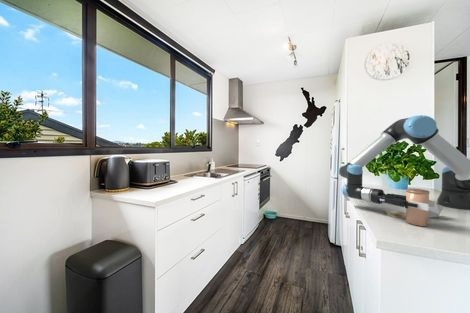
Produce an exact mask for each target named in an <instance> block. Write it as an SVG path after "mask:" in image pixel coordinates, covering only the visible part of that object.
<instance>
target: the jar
mask: <svg viewBox="0 0 470 313" xmlns="http://www.w3.org/2000/svg"><path fill="white" fill-rule="evenodd" d="M405 192H406V194H405V196H406V201H408V202H409V201H413V202H419V203H425V204H429V200H430V190H427V189H421V188H406V189H405ZM405 213H406V219H405V222H406V223H407V224H411V225H414V226H420V227H427V226H429V218H428V211H426V210H421V209H416V208H411V207H409V206H408V208H405Z"/></svg>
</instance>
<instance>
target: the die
mask: <svg viewBox="0 0 470 313" xmlns="http://www.w3.org/2000/svg"><path fill="white" fill-rule="evenodd" d="M442 211H443V208H442V207H441V205H440V204H438V203H437V202H435V207H429V211H428V219H437V218H439V216H440V215H441V214H442Z"/></svg>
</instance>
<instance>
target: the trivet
mask: <svg viewBox="0 0 470 313" xmlns="http://www.w3.org/2000/svg"><path fill="white" fill-rule="evenodd" d="M385 213H386V215H387V216H389V217H392V218H396V219H401V220H402V219H403V220H406V212H404V211H396V210H387V211H386V212H385Z"/></svg>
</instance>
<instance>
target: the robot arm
mask: <svg viewBox="0 0 470 313" xmlns="http://www.w3.org/2000/svg"><path fill="white" fill-rule="evenodd" d="M439 132H440V130H439V128H438V126H437V121H436V120H435V119H434V118H433V117H431V116H428V115H423V114H422V115H413V116H411V117H407V118H406V117H405V118H400V119H397V120H396V121H394V122H393V123H392V124H391V125H389V126H388V127H387V128H386V129H384V130H383V131H382V132H381V133H380V136H379V137H377V138H376V139H375V140H374V141H373V142H371V143H370V144H369V145H367V147H365V148H364V149H363V150H362V151H361V152H359V153H358V154H357V155H356V156H355V157H353V158H352V159H351V160H350V161H349V162H347V163H346V164H345V165H342V166H340V167H339V168H338V171H337V173H338V175H339V176H341V177H342V178H344V179H347V180H346V184H344V185H342V190H341V191H342V192H341V193H342V195H343V196H344V197H345V198H346V197H347V198H349V199H354V200H355V199H356V200H360V201H365V202H366V203H373V204H378V205H380V204H383V203H384V204H388V205H392V206H397V207H401V208H404V209H406V208H408V206H409V207H411V208H416V209H421V210H426V211H429V207H435V203H436V204H437V205H439V206H444V207H448V208H453V209H458V210H459V209H460V210H461V209H462V210H470V158H468V157H467V156H466V155H465V154H463V153H462V152H461V151H460V150H458V149H457V148H456V147H455V146H454V145H452V144H451V143H450V142H449V141H447V139H445V138H444V137H443V136H441V135H440V134H439ZM405 139H408V140H409V141H410V142H411V143H413V144H414V145H416V146H417V145H419V146H421V147H423V148H424V149H426V151H427V152H429V153H430V154H431V155H432V156H434V157H435V159H438V161H440V162H441V163H442V164H443V165H445V167H443V168H442V172H441V191H440V194H439V196H438V197H437V200H430V199H429V204H425V203H419V202H413V201H409V202H408V201H406V195H402V194H396V193H385V191H384V190H383V189H382V188H374V187H369V186H363V175H364V174H363V173H364V170H363V168H364V167H365V166H366V165H368V164H369V163H370V162H371V161H373V160H374V159H376V157H377V156H379V155H380V154H381V153H383V152H384V151H385V150H386V149H388V148H389V147H390V146H392V145H395V144H397V143H398V142H400V141H402V140H405Z"/></svg>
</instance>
